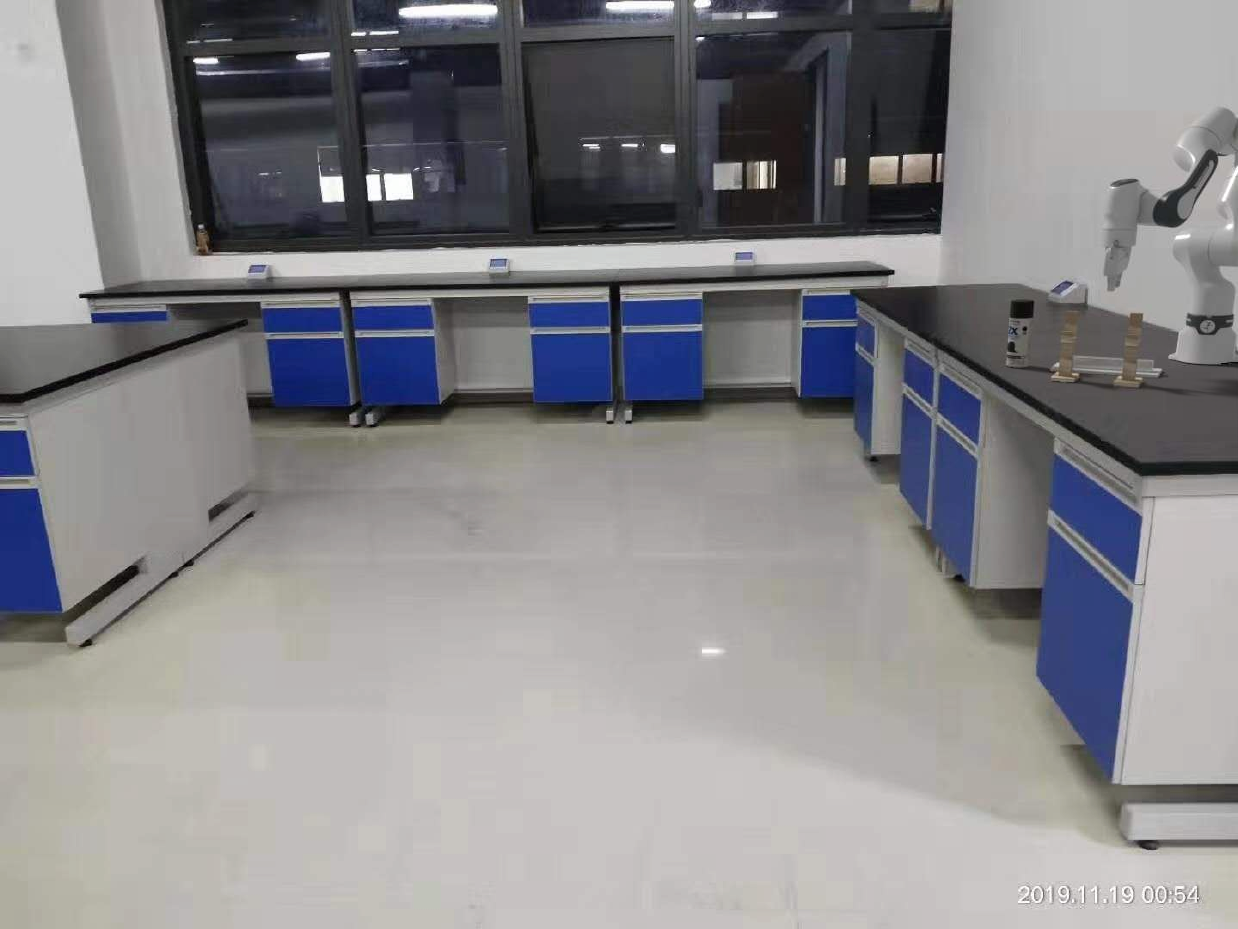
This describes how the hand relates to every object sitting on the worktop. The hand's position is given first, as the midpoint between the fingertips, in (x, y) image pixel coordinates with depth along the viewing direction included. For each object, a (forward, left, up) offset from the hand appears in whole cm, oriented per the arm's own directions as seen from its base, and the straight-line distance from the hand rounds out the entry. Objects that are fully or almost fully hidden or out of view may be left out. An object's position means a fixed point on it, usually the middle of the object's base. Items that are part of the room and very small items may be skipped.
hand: (1113, 289), depth 270 cm
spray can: (+1, -24, -24) cm, 34 cm away
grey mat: (0, 0, -24) cm, 24 cm away
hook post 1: (+16, -8, -24) cm, 30 cm away
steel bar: (0, 0, -23) cm, 23 cm away
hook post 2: (+16, +8, -24) cm, 30 cm away
